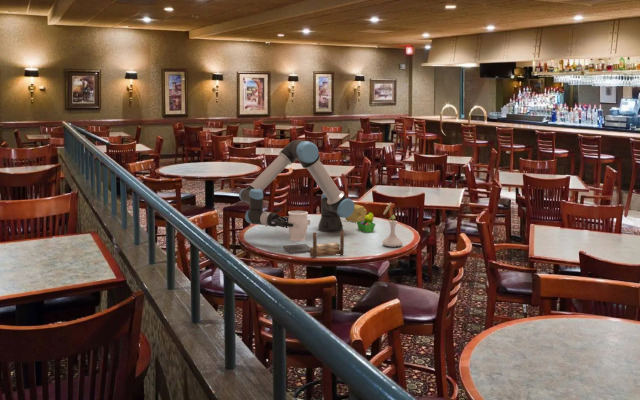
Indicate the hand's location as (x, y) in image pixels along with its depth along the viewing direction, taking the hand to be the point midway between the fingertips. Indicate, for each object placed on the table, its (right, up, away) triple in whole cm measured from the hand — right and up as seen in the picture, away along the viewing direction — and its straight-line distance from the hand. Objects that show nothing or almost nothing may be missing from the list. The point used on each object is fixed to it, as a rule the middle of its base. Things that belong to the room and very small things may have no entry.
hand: (304, 224), depth 342 cm
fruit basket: (+37, -6, +53) cm, 65 cm away
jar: (-4, -9, +4) cm, 10 cm away
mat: (-3, -14, +5) cm, 15 cm away
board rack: (+11, -16, -5) cm, 20 cm away
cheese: (+32, -1, +82) cm, 88 cm away
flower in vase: (+48, -13, +15) cm, 52 cm away
